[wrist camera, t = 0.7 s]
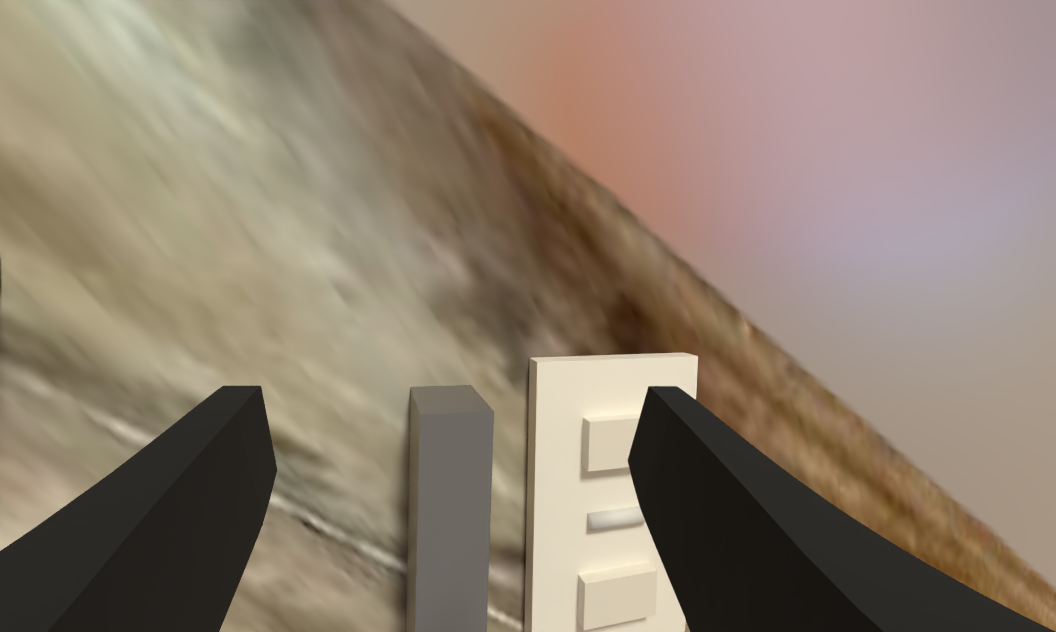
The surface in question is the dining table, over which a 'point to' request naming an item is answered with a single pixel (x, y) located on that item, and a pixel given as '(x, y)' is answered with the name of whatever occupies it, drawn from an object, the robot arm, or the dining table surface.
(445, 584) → the matte grey box
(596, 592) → the plate
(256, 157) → the dining table surface
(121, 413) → the dining table surface
